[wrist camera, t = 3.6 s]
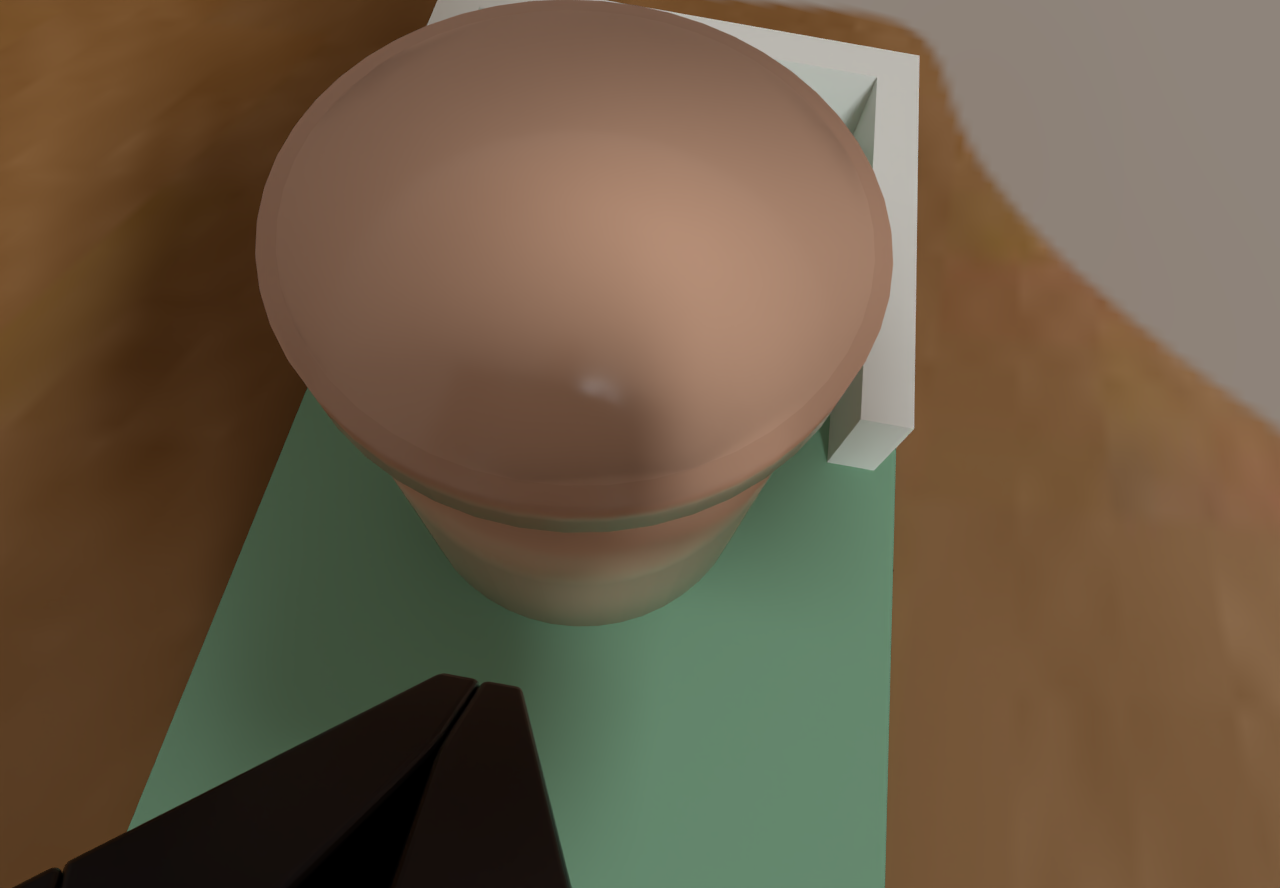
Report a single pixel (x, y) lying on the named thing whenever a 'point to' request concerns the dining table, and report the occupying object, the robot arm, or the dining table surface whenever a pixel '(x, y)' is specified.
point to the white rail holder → (888, 135)
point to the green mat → (582, 672)
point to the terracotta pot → (575, 288)
